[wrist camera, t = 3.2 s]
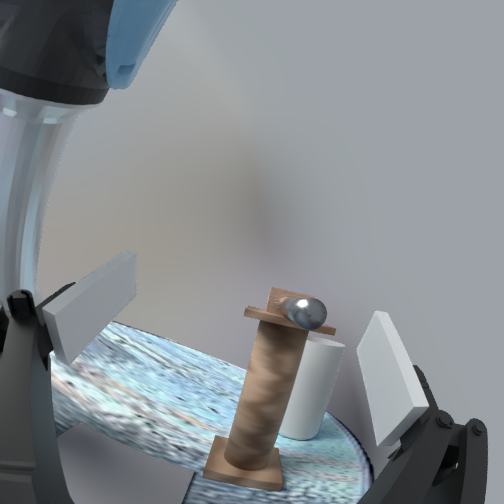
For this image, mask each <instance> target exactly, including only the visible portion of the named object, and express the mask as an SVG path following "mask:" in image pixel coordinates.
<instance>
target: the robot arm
mask: <svg viewBox="0 0 504 504" xmlns="http://www.w3.org/2000/svg"><path fill="white" fill-rule="evenodd" d="M177 1H178V0H0V504H75V503H74V502H73V500H72V498H71V496H70V494H69V491H68V488H67V484H66V481H65V477H64V473H63V468H62V464H61V459H60V454H59V449H58V443H57V437H56V431H55V423H54V415H53V404H52V391H51V359H50V355H49V353H50V352H51V351H52V350H54V353H55V356H56V359H57V360H59V361H61V362H62V363H64V364H66V365H67V366H69V365H70V364H71V363H72V362H73V361H74V360H75V359H76V358H77V357H78V356H79V354H80V353H81V352H82V351H83V350H84V349H85V348H86V347H87V346H88V345H89V344H90V343H91V342H92V341H93V340H94V338H95V337H96V336H97V335H98V334H99V333H100V332H101V331H102V330H103V329H104V328H105V327H106V326H107V325H108V324H109V323H110V322H111V321H112V320H113V318H115V317H116V316H117V315H118V314H119V313H120V312H121V311H122V310H123V309H124V308H125V307H126V306H127V305H128V304H129V303H130V302H131V301H132V300H133V299H134V298H135V297H136V253H133V252H130V251H127V250H124V251H123V252H122V253H120V254H118V255H117V256H115V257H114V258H112V259H111V260H109V261H108V262H106V263H105V264H103V265H102V266H100V267H99V268H97V269H96V270H94V271H93V272H91V273H90V274H88V275H87V276H85V277H84V278H83V279H81V280H80V281H78V282H77V283H76V282H73V283H70V284H68V285H65V286H64V287H62V288H61V289H59V290H58V291H57V292H55V293H54V294H53V295H51V296H50V297H48V298H47V299H46V300H44V299H43V294H42V292H41V289H40V287H39V285H38V284H37V282H36V273H37V264H38V256H39V250H40V243H41V237H42V232H43V226H44V221H45V216H46V212H47V208H48V203H49V199H50V195H51V192H52V188H53V184H54V181H55V177H56V174H57V170H58V167H59V164H60V161H61V158H62V155H63V152H64V150H65V147H66V144H67V141H68V139H69V136H70V133H71V131H72V129H73V126H74V124H75V121H76V119H77V118H78V116H79V115H81V114H83V113H85V112H87V111H90V110H92V109H94V108H96V107H98V106H100V105H101V103H102V101H103V100H104V98H105V96H106V94H107V92H108V90H109V88H110V87H111V88H113V89H115V90H116V89H126V88H128V87H129V86H130V84H131V83H132V81H133V80H134V78H135V76H136V74H137V72H138V70H139V68H140V66H141V64H142V62H143V60H144V59H145V57H146V55H147V54H148V52H149V50H150V48H151V46H152V45H153V43H154V41H155V39H156V37H157V36H158V34H159V32H160V30H161V29H162V27H163V25H164V23H165V22H166V20H167V18H168V16H169V15H170V13H171V11H172V10H173V8H174V6H175V5H176V2H177ZM356 351H357V354H358V358H359V363H360V366H361V371H362V375H363V379H364V384H365V388H366V393H367V397H368V402H369V407H370V411H371V417H372V422H373V427H374V433H375V438H376V443H377V446H392V445H393V444H394V443H395V442H397V441H398V440H399V439H400V441H401V446H400V447H399V448H398V449H396V450H395V451H394V452H393V453H392V454H391V455H390V456H389V457H388V458H389V459H390V458H391V457H392V458H391V459H390V461H389V462H388V464H387V465H386V467H385V468H384V469H383V471H382V472H381V473H380V475H379V476H378V478H377V479H376V480H375V482H374V483H373V484H372V486H371V487H370V488H369V489H368V491H367V492H366V493H365V494H364V496H363V497H362V498H361V499H360V500H359V502H358V503H357V504H484V502H485V494H486V483H487V465H488V438H487V429H486V427H485V425H484V423H483V422H482V421H480V420H478V419H475V418H473V419H470V421H469V422H468V423H467V424H466V425H465V426H464V425H460V424H455V423H454V421H453V419H452V417H451V416H450V415H449V414H448V413H447V412H445V411H442V410H439V409H438V406H437V404H436V401H435V399H434V397H433V395H432V392H431V390H430V389H429V385H428V383H427V382H426V378H425V376H424V374H423V372H422V371H421V370H420V369H419V368H418V366H417V365H412V363H411V361H410V359H409V356H408V355H407V352H406V350H405V348H404V346H403V343H402V341H401V339H400V337H399V335H398V333H397V331H396V329H395V327H394V325H393V323H392V321H391V319H390V317H389V315H388V313H386V312H381V311H375V313H374V315H373V317H372V319H371V321H370V323H369V326H368V328H367V330H366V332H365V334H364V336H363V338H362V340H361V342H360V344H359V346H358V348H357V350H356ZM457 463H458V466H457V468H456V464H457Z"/></svg>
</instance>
